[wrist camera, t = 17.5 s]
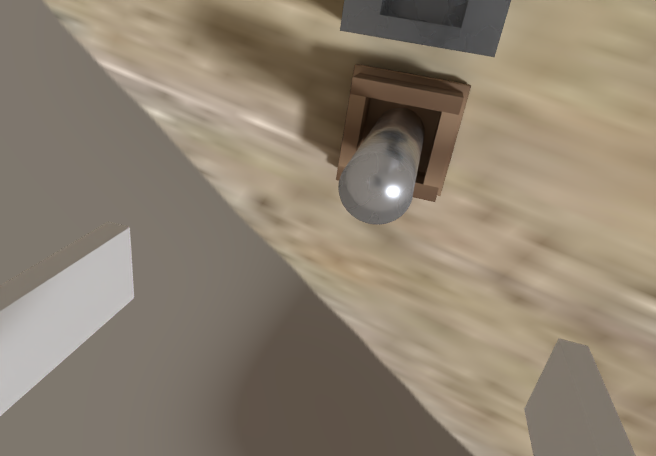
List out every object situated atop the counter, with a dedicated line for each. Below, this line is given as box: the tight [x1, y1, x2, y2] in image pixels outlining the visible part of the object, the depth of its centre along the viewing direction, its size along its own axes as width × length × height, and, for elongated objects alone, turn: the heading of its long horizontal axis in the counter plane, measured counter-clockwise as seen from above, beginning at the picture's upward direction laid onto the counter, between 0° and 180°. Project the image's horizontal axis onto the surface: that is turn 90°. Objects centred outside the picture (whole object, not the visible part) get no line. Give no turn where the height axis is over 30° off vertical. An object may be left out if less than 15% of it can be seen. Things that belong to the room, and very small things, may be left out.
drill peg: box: [339, 108, 425, 224], centre depth 30 cm, size 4×4×14 cm
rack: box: [336, 64, 471, 202], centre depth 35 cm, size 9×9×4 cm
